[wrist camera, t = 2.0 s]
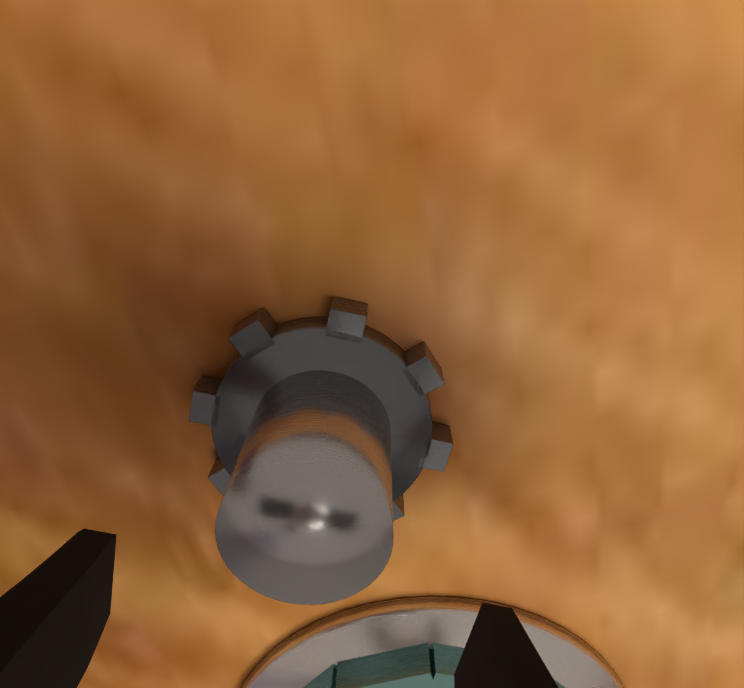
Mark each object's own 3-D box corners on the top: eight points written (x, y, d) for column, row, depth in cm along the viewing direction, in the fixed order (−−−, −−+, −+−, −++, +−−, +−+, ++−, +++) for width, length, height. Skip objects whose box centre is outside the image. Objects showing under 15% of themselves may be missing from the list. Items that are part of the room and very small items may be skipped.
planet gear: (186, 491, 20) (123, 629, 15) (215, 270, 17) (148, 352, 12) (414, 535, 21) (425, 682, 16) (480, 328, 18) (518, 428, 13)
